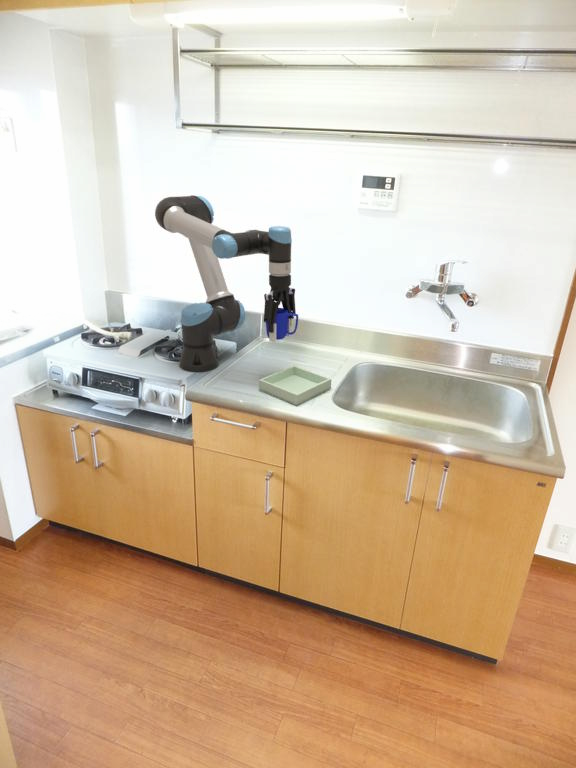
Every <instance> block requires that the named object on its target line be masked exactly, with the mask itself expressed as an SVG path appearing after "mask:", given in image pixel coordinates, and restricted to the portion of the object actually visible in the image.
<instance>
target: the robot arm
mask: <svg viewBox="0 0 576 768" xmlns="http://www.w3.org/2000/svg"><path fill="white" fill-rule="evenodd" d="M214 216H215V211H214V208H213V206H212V203H211V202H210V201H209V200H208V199H207V198H206V197H204V196H201V195H183V196H167V197H164V198H163V199H161V200H160V201H159V202H158V203H157V205H156V207H155V210H154V217H155V220H156V222H157V224H158V225H159V227H160V228H162V229H163V230H165V231H167V232H169V233H172V234H177V233H178V234H180V235H182V236H183V237H185V238H187V239H188V242H189V244H190V247H191V250H192V254H193V257H194V259H195V263H196V266H197V270H198V272H199V275H200V278H201V282H202V284H203V288H204V291H205V293H206V296H207V297H206V300H205V302H199V303H198V302H195V303H191V304H189V305H186V306H185V307H183V308H182V310H181V314H180V323H181V334H182V336H181V337H182V349H181V353H180V358H179V367H180V368H181V369H182V370H184V371H186V372H193V373H194V372H197V373H198V372H199V373H200V372H206V371H207V372H208V371H212V370H214V369H216V368H217V367H218V366H219V365H220V364H219V363H220V362H219V361H220V359H219V356H218V354H217V353H218V352H217V351H216V348H215V345H214V337H215V336H218V335H221V334H226V333H229V332H233V331H235V330H237V329H238V330H239V329H240V328H241V327H242V326H243V324H244V322H245V320H246V310H245V307H244V305H243V303H242V302H241V301H240V300H238V299H235V296H234V294H233V293H232V292H230V291H229V289H228V286H227V282H226V279H225V276H224V274H223V272H222V271H223V270H222V267H221V263H220V261H219V259H226V260H227V259H232V258H236V257H244V256H250V255H255V254H256V255H257V254H259V255H261V254H262V255H267V256H268V273H269V275H268V285H269V286H270V292H269V293H264V296H263V297H264V308H263V309H264V311H263V312H264V313H263V322H264V323H265V324H266V323H268V331H269V338H268V339H269V341H271V342H277V340H276V323H275V319H276V315H277V310H278V308H279V306H280V305H282V308H283V310H288V313H294V314H297V312H296V300H295V299H296V298H295V296H296V295H295V294H296V289H295V288H294V287H291V285H292V275H291V273H292V242H293V240H292V230H291V228H290V227H289V226H280V225H279V226H276V225H275V226H270V227H269V228H268V231H265V230H259V229H248V230H246V231H244V232H230V231H227V230H225V229H223V228H221V227H219V226H217V225H214V224H213V222H214ZM271 319H272V320H271ZM293 319H295V316H289V317H288V327H287V330H288V332H292V331H291V330H292V328H291V327H292V320H293ZM291 336H292V335H290V334H287V333H286V336H285V337H288V338H291Z"/></svg>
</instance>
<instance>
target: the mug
mask: <svg viewBox="0 0 576 768" xmlns="http://www.w3.org/2000/svg"><path fill="white" fill-rule="evenodd" d="M289 316H294V317H295V318H296V319H295V326H294V329H293V331H291V332H288V330H287V327H288V317H289ZM271 320H272V319H271ZM275 323H276V341H279V340H283V339H284V338H286V337H287V336H286V333H287V334H290V335H291V336H292V335H294V334H296V331H297V329H298V325H299V314H298V313H296V314H294V313H288V310H283V307H278V310H277V315H276V319H275ZM265 329H266V335H267V338H268V339H269V331H268V323H266V322H265Z"/></svg>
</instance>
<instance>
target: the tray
mask: <svg viewBox="0 0 576 768" xmlns="http://www.w3.org/2000/svg"><path fill="white" fill-rule="evenodd" d="M331 389H332V378H330V377H327V376H324V375H321V374H319V373H316V372H313V371H311V370H307V369H306V368H303V367H299V366H297V365H292V366H289V367H286V368H285V369H282V370H280V371H277V372H273V373H272V374H269V375H267V376H265V377H263V378H260V379H258V391H260V392H262V393H265V394H268V395H270V396H272V397H274V398H277V399H279V400H281V401H284V402H286V403H288V404H291V405H292V406H296V407H298V406H301V405H302V404H304V403H306V402H308V401H310V400H312V399H314V398H316V397H318V396H319V395H322V394H323V393H326V392H328V391H330V390H331Z"/></svg>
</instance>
